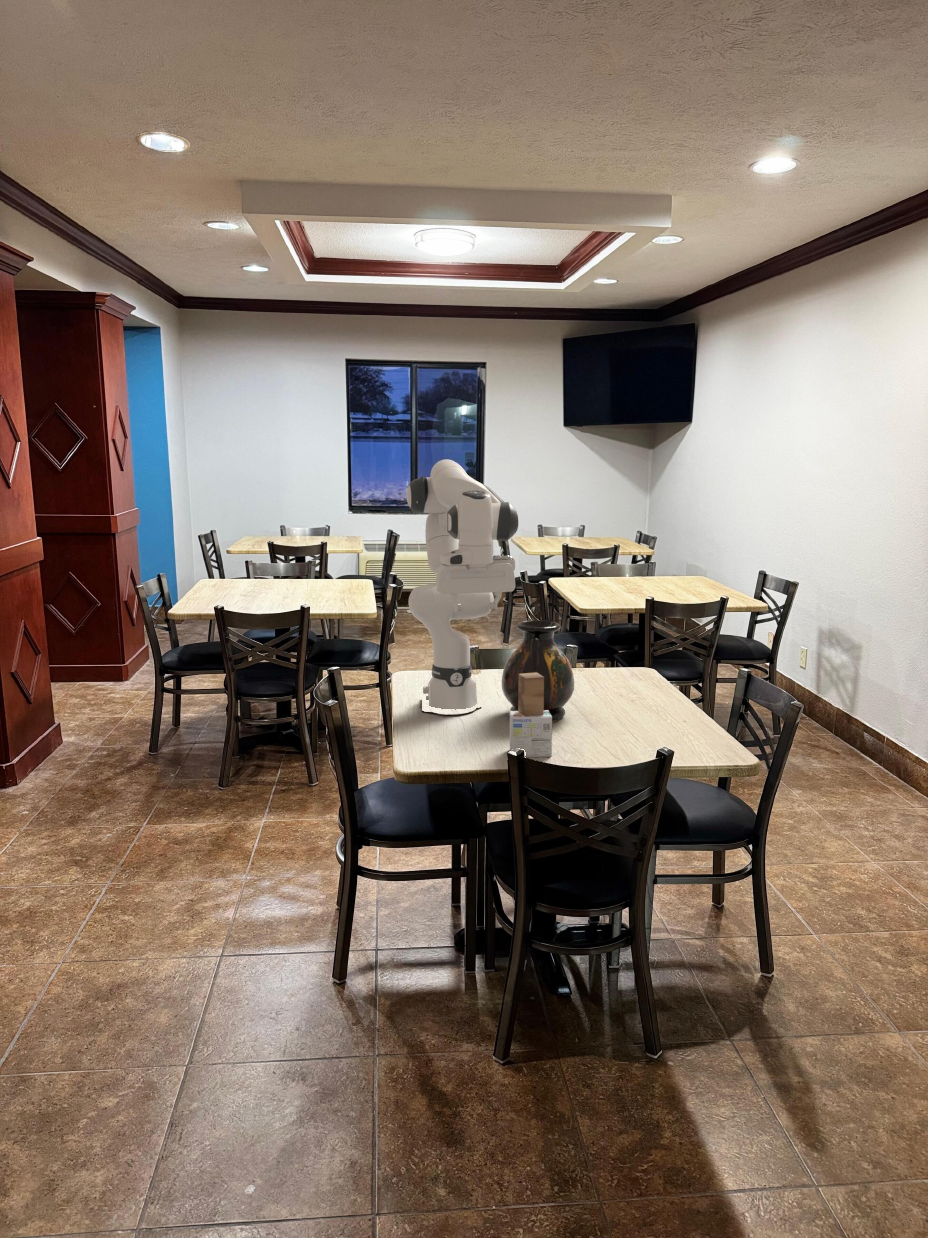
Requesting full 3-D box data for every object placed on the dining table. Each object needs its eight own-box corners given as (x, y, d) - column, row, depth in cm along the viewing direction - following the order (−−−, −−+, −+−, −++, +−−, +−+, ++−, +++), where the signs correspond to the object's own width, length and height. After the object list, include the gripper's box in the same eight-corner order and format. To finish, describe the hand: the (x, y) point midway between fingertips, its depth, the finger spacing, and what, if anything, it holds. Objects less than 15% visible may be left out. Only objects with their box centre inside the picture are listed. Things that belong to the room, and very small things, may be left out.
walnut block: (518, 711, 219) (518, 673, 217) (536, 709, 220) (536, 672, 218) (525, 716, 214) (525, 678, 212) (543, 715, 215) (544, 677, 214)
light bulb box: (548, 748, 222) (549, 709, 220) (552, 757, 216) (553, 716, 214) (508, 749, 222) (508, 709, 220) (510, 758, 215) (511, 717, 213)
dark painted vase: (570, 729, 239) (572, 631, 234) (495, 724, 243) (496, 629, 238) (576, 708, 260) (578, 618, 255) (507, 704, 264) (507, 616, 259)
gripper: (511, 553, 218) (511, 606, 220) (434, 556, 213) (434, 610, 215) (519, 556, 212) (518, 610, 214) (439, 558, 207) (440, 614, 209)
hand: (475, 610), depth 215 cm, fingers open, 8 cm apart
